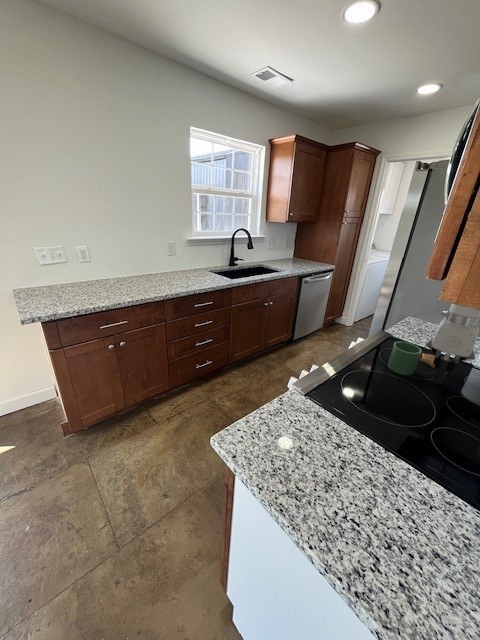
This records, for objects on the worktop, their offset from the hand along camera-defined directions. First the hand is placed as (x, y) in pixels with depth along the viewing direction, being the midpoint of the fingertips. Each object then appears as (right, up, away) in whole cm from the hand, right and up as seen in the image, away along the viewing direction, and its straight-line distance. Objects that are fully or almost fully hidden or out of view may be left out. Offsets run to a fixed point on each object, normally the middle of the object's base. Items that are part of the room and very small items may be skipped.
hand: (442, 368), depth 89 cm
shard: (+7, -1, +13) cm, 15 cm away
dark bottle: (0, -5, +2) cm, 6 cm away
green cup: (-8, -2, +9) cm, 13 cm away
